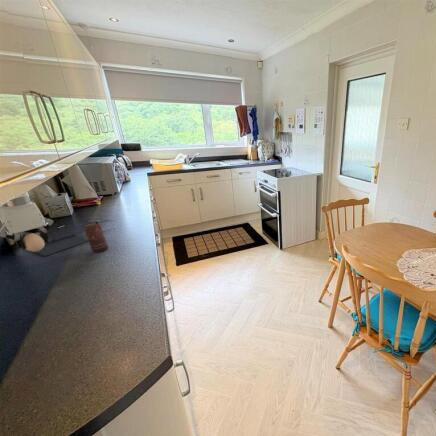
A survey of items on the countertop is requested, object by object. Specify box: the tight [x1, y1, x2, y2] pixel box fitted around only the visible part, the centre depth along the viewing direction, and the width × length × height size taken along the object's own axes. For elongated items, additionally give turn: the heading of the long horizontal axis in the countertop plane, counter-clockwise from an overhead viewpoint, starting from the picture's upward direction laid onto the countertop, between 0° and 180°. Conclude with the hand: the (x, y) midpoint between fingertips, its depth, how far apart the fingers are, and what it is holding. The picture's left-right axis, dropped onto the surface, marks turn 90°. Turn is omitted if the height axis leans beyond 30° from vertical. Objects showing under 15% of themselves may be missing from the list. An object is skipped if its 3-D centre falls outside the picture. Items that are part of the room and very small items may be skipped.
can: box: [83, 221, 109, 254], centre depth 111 cm, size 6×6×14 cm
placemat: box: [35, 234, 89, 258], centre depth 118 cm, size 18×16×1 cm
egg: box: [22, 233, 46, 253], centre depth 91 cm, size 6×6×8 cm
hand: (34, 244), depth 91 cm, fingers closed on egg, 5 cm apart
